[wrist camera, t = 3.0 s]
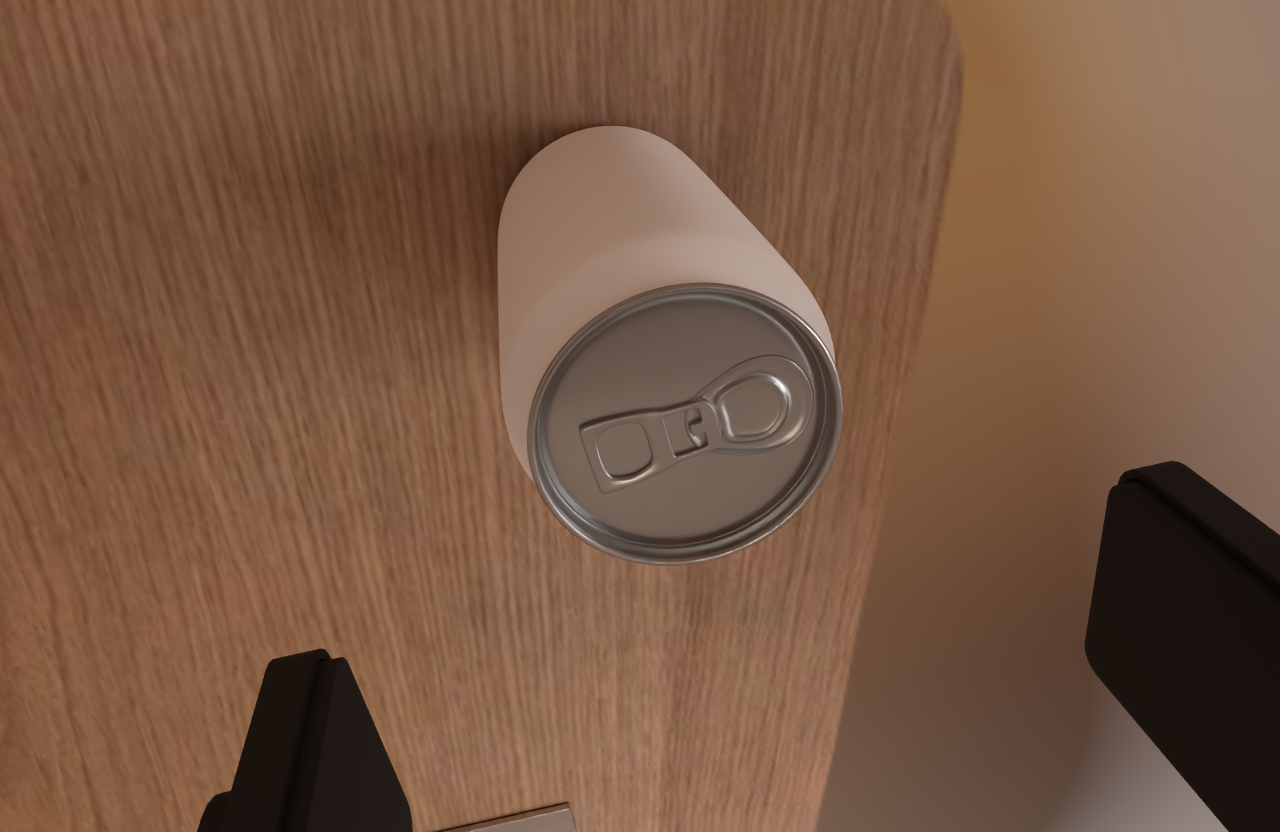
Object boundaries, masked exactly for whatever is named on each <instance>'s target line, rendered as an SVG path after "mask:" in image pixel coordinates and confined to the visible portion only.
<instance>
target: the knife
mask: <svg viewBox="0 0 1280 832" xmlns="http://www.w3.org/2000/svg"><path fill="white" fill-rule="evenodd" d="M443 832H577V831H576V826H575V822H574V819H573V815H572V812H571V808H570V805H569V803H566V804H562V805H557V806H553V807H549V808H544V809H540V810H535V811H531V812H527V813H522V814H518V815H513V816H509V817H504V818H500V819H496V820H491V821H487V822H482V823H478V824H473V825H469V826H465V827H460V828H456V829H451V830H447V831H443Z"/></svg>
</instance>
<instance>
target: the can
mask: <svg viewBox="0 0 1280 832" xmlns="http://www.w3.org/2000/svg"><path fill="white" fill-rule="evenodd" d="M498 313H499V354H500V382H501V396H502V407H503V414H504V419H505V423H506V427H507V431H508V435H509V438H510V441H511V444H512V446H513V449H514V451H515V454H516V456H517V458H518V460H519V461H520V463H521V465H522V467H523V468H524V470H525V471H526V473H527V474H528V476H529V477H530V478H531V480H532V481H533V482H534V483H535V484H536V487H537V489H538V491H539V493H540V495H541V497H542V499H543V501H544V502H545V504H546V505H547V507H548V508H549V510H550V511H551V512H552V514H553V515H554V516H555V517H556V519H557V520H558V521H559V522H560V523H561V524H562V525H563V526H564V527H565V528H566V529H567V530H568V531H570V532H571V533H572V534H573V535H575V536H576V537H577V538H579V539H580V540H581V541H583V542H585V543H586V544H588V545H589V546H591V547H593V548H595V549H597V550H599V551H601V552H603V553H606V554H608V555H611V556H613V557H616V558H619V559H623V560H626V561H630V562H635V563H640V564H647V565H658V566H678V565H690V564H697V563H703V562H707V561H712V560H716V559H719V558H722V557H726V556H729V555H731V554H734V553H737V552H739V551H741V550H744V549H746V548H748V547H750V546H752V545H754V544H756V543H758V542H760V541H761V540H763V539H765V538H766V537H768V536H769V535H771V534H772V533H774V532H775V531H777V530H778V529H779V528H781V527H782V526H783V525H785V524H786V523H787V522H788V521H789V520H791V519H792V518H793V517H794V516H795V515H796V514H797V513H798V512H799V511H800V510H801V509H802V508H803V507H804V506H805V505H806V504H807V502H808V501H809V500H810V499H811V498H812V496H813V495H814V494H815V492H816V491H817V489H818V488H819V487H820V485H821V483H822V482H823V480H824V478H825V477H826V475H827V473H828V471H829V469H830V467H831V465H832V463H833V460H834V458H835V455H836V452H837V449H838V446H839V443H840V438H841V434H842V428H843V419H844V400H843V391H842V385H841V381H840V377H839V374H838V370H837V368H836V365H835V354H834V347H833V342H832V338H831V334H830V331H829V328H828V325H827V322H826V320H825V318H824V315H823V313H822V311H821V309H820V307H819V305H818V304H817V302H816V300H815V298H814V297H813V295H812V293H811V292H810V290H809V289H808V288H807V286H806V285H805V284H804V282H803V281H802V280H801V279H800V277H799V276H798V275H797V274H796V272H795V271H794V270H793V269H792V268H791V266H790V265H789V264H788V263H787V262H786V261H785V260H784V259H783V257H782V256H781V255H780V254H779V253H778V252H777V251H776V250H775V248H774V247H773V246H772V245H771V244H770V243H769V242H768V241H767V240H766V239H765V238H764V236H763V235H762V234H761V233H760V232H759V231H758V230H757V229H756V228H755V227H754V226H753V224H752V223H751V222H750V221H749V220H748V219H747V218H746V217H745V216H744V215H743V214H742V213H741V212H740V210H739V209H738V208H737V207H736V206H735V205H734V204H733V203H732V202H731V201H730V200H729V199H728V198H727V197H726V195H725V194H724V193H723V192H722V191H721V190H720V189H719V188H718V187H717V186H716V185H715V184H714V183H713V182H712V181H711V180H710V179H709V177H708V176H707V175H706V174H705V173H704V172H703V171H702V170H701V169H700V168H699V167H698V166H697V165H696V164H695V163H694V162H693V161H692V160H691V159H690V158H689V157H688V156H687V155H686V154H684V153H683V152H682V151H681V150H680V149H678V148H677V147H676V146H674V145H673V144H671V143H669V142H668V141H666V140H664V139H662V138H661V137H659V136H656V135H654V134H652V133H649V132H646V131H643V130H640V129H635V128H630V127H623V126H599V127H592V128H587V129H583V130H579V131H576V132H573V133H571V134H568V135H566V136H564V137H561V138H560V139H558V140H556V141H554V142H552V143H551V144H549V145H548V146H546V147H545V148H544V149H542V150H541V151H540V152H538V153H537V154H536V155H535V156H534V157H533V158H532V159H531V160H530V161H529V162H528V163H527V164H526V165H525V166H524V168H523V169H522V170H521V172H520V173H519V174H518V176H517V177H516V179H515V180H514V182H513V184H512V186H511V188H510V190H509V192H508V194H507V196H506V199H505V202H504V205H503V208H502V212H501V216H500V221H499V229H498Z"/></svg>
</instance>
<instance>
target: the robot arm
mask: <svg viewBox="0 0 1280 832" xmlns="http://www.w3.org/2000/svg"><path fill="white" fill-rule="evenodd" d="M1085 651H1086V656H1087V658H1088V661H1089V664H1090V666H1091V668H1092V669H1093V671H1094V672H1095V674H1096V675H1097V676H1098V677H1099V678H1100V680H1101V681H1102V682H1103V683H1104V684H1105V686H1106V687H1107V688H1108V689H1109V690H1110V692H1111V693H1112V694H1113V695H1114V696H1115V697H1116V699H1117V700H1118V701H1119V702H1120V703H1121V705H1122V706H1123V707H1124V708H1125V709H1126V711H1127V712H1128V713H1129V714H1130V715H1131V716H1132V717H1133V719H1134V720H1135V721H1136V722H1137V724H1138V725H1139V726H1140V727H1141V728H1142V729H1143V731H1144V732H1145V733H1146V734H1147V735H1148V737H1149V738H1150V739H1151V740H1152V741H1153V743H1155V745H1156V746H1157V747H1158V748H1159V750H1160V751H1161V752H1162V753H1163V754H1164V756H1165V757H1166V758H1167V759H1168V760H1169V761H1170V763H1171V764H1172V765H1173V766H1174V767H1175V769H1176V770H1177V771H1178V772H1179V773H1180V775H1181V776H1182V777H1183V778H1184V779H1185V780H1186V781H1187V783H1188V784H1189V785H1190V786H1191V788H1192V789H1193V790H1194V791H1195V792H1196V793H1197V794H1198V796H1199V797H1200V798H1201V799H1202V801H1203V802H1204V803H1205V804H1206V805H1207V807H1208V808H1209V809H1210V810H1211V811H1212V812H1213V814H1214V815H1215V816H1216V817H1217V818H1218V819H1219V821H1220V822H1221V823H1222V824H1223V825H1224V827H1225V828H1226V829H1227V830H1228V831H1229V832H1280V535H1279V534H1277V533H1276V532H1275V531H1273V530H1272V529H1271V528H1269V527H1268V526H1267V525H1265V524H1264V523H1263V522H1261V521H1260V520H1259V519H1257V518H1256V517H1255V516H1253V515H1252V514H1250V513H1249V512H1248V511H1246V510H1245V509H1244V508H1242V507H1241V506H1240V505H1238V504H1237V503H1235V502H1234V501H1233V500H1231V499H1230V498H1229V497H1228V496H1226V495H1225V494H1223V493H1222V492H1221V491H1219V490H1218V489H1217V488H1215V487H1214V486H1213V485H1211V484H1210V483H1209V482H1207V481H1206V480H1205V479H1203V478H1202V477H1201V476H1199V475H1198V474H1196V473H1195V472H1194V471H1192V470H1191V469H1190V468H1188V467H1187V466H1185V465H1184V464H1182V463H1180V462H1175V461H1169V462H1164V463H1159V464H1155V465H1151V466H1146V467H1141V468H1137V469H1132V470H1129V471H1126V472H1124V473H1123V474H1122V476H1121V477H1120V479H1119V482H1118V485H1116V486H1114V487H1112V489H1111V490H1110V492H1109V495H1108V501H1107V507H1106V513H1105V519H1104V525H1103V532H1102V538H1101V545H1100V551H1099V557H1098V563H1097V569H1096V576H1095V582H1094V589H1093V595H1092V601H1091V607H1090V613H1089V620H1088V626H1087V632H1086V638H1085ZM197 832H413V828H412V818H411V812H410V807H409V804H408V801H407V799H406V797H405V794H404V792H403V790H402V787H401V785H400V783H399V780H398V778H397V776H396V773H395V771H394V769H393V766H392V764H391V762H390V759H389V757H388V755H387V752H386V750H385V748H384V745H383V743H382V741H381V738H380V736H379V734H378V731H377V729H376V727H375V724H374V722H373V720H372V717H371V715H370V713H369V710H368V708H367V706H366V703H365V701H364V699H363V696H362V694H361V692H360V689H359V687H358V685H357V682H356V680H355V678H354V675H353V673H352V671H351V668H350V666H349V664H348V662H347V660H346V659H345V658H344V657H340V658H335V659H331V657H330V655H329V654H328V652H327V651H326V650H325V649H317V650H312V651H308V652H303V653H299V654H294V655H290V656H285V657H280V658H276V659H273V660H272V661H270V662H269V664H268V666H267V669H266V671H265V675H264V678H263V682H262V685H261V689H260V692H259V696H258V699H257V702H256V706H255V709H254V713H253V716H252V720H251V723H250V727H249V730H248V734H247V737H246V741H245V744H244V748H243V751H242V755H241V758H240V762H239V765H238V768H237V772H236V775H235V779H234V782H233V786H232V789H231V791H228V792H223V793H220V794H217V795H215V796H214V797H213V798H212V799H211V801H210V802H209V803H208V804H207V806H206V809H205V811H204V813H203V816H202V818H201V821H200V824H199V827H198V830H197Z"/></svg>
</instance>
